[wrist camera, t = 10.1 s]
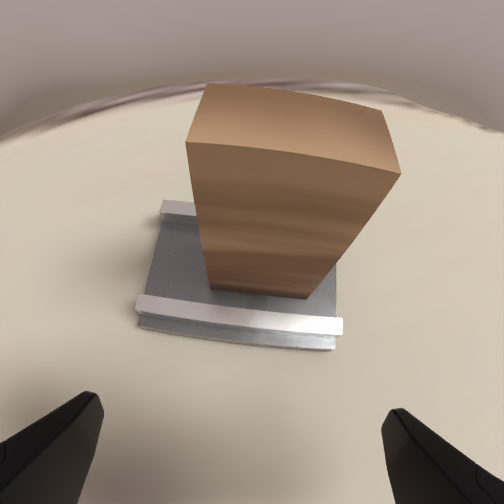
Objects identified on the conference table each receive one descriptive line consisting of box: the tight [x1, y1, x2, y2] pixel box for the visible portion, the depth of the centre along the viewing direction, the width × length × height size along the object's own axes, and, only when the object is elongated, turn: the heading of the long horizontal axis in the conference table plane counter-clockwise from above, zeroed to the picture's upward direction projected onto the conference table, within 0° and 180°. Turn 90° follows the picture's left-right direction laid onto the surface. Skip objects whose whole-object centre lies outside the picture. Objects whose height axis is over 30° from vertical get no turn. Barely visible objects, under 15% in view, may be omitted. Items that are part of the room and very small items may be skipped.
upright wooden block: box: [185, 83, 401, 300], centre depth 14 cm, size 4×6×12 cm, turn 85°
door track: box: [135, 200, 342, 351], centre depth 19 cm, size 12×9×2 cm
